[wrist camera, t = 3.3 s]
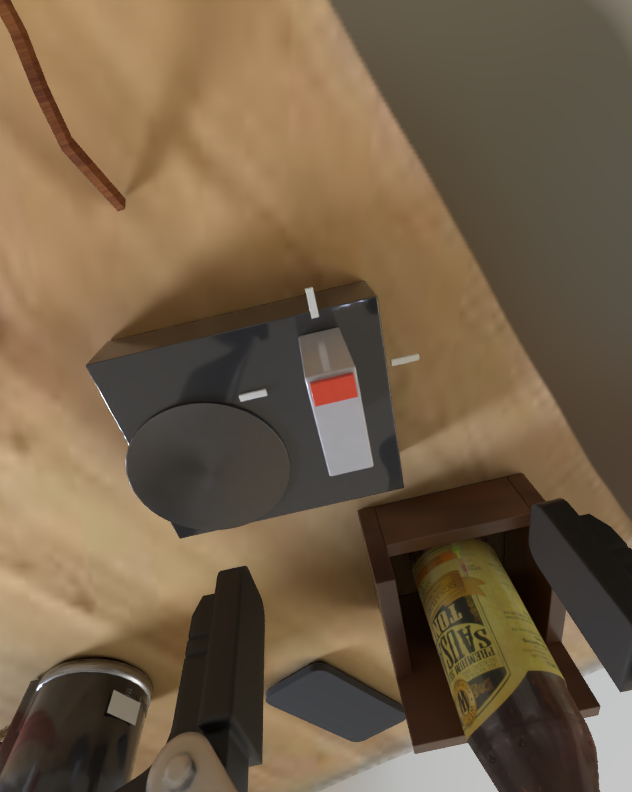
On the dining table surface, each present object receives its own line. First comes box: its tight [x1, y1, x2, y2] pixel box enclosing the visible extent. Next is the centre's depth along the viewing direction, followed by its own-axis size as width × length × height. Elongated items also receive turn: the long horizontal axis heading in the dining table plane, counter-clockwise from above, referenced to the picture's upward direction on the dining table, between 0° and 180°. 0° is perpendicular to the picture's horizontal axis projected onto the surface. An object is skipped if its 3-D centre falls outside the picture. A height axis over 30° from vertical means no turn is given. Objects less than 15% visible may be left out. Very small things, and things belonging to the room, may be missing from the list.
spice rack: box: [358, 474, 600, 754], centre depth 28 cm, size 12×12×10 cm
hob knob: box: [298, 327, 374, 476], centre depth 19 cm, size 5×2×5 cm, turn 12°
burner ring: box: [126, 401, 290, 530], centre depth 23 cm, size 9×9×1 cm
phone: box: [266, 663, 406, 742], centre depth 41 cm, size 7×1×15 cm
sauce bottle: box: [411, 536, 600, 792], centre depth 24 cm, size 6×6×20 cm
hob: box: [86, 281, 419, 538], centre depth 23 cm, size 16×13×3 cm
